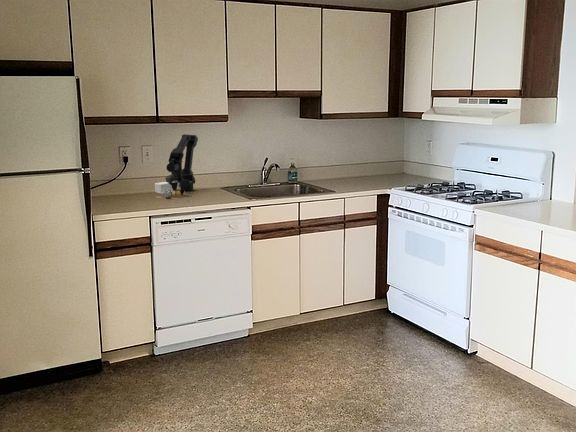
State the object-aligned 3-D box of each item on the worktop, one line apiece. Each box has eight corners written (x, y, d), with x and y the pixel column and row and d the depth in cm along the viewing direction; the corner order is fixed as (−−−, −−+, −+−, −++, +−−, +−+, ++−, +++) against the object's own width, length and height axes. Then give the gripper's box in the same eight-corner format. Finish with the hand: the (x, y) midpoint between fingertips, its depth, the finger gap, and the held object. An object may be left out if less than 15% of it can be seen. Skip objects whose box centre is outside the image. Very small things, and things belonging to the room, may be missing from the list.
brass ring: (179, 193, 383) (179, 188, 382) (186, 194, 378) (186, 190, 377) (170, 194, 378) (170, 190, 377) (177, 196, 373) (177, 191, 372)
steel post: (169, 197, 368) (168, 189, 367) (172, 198, 365) (172, 190, 364) (164, 198, 365) (164, 190, 364) (167, 199, 363) (167, 191, 362)
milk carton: (154, 183, 386) (178, 180, 399) (155, 193, 387) (178, 190, 400) (160, 184, 381) (184, 181, 394) (160, 195, 382) (184, 191, 395)
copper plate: (180, 194, 385) (180, 192, 385) (195, 197, 374) (195, 195, 374) (154, 198, 371) (154, 196, 371) (169, 201, 360) (169, 200, 360)
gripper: (158, 170, 375) (159, 193, 378) (175, 172, 362) (176, 197, 366) (172, 168, 383) (173, 191, 386) (190, 171, 370) (191, 195, 374)
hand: (178, 193), depth 378 cm, fingers closed on brass ring, 7 cm apart
